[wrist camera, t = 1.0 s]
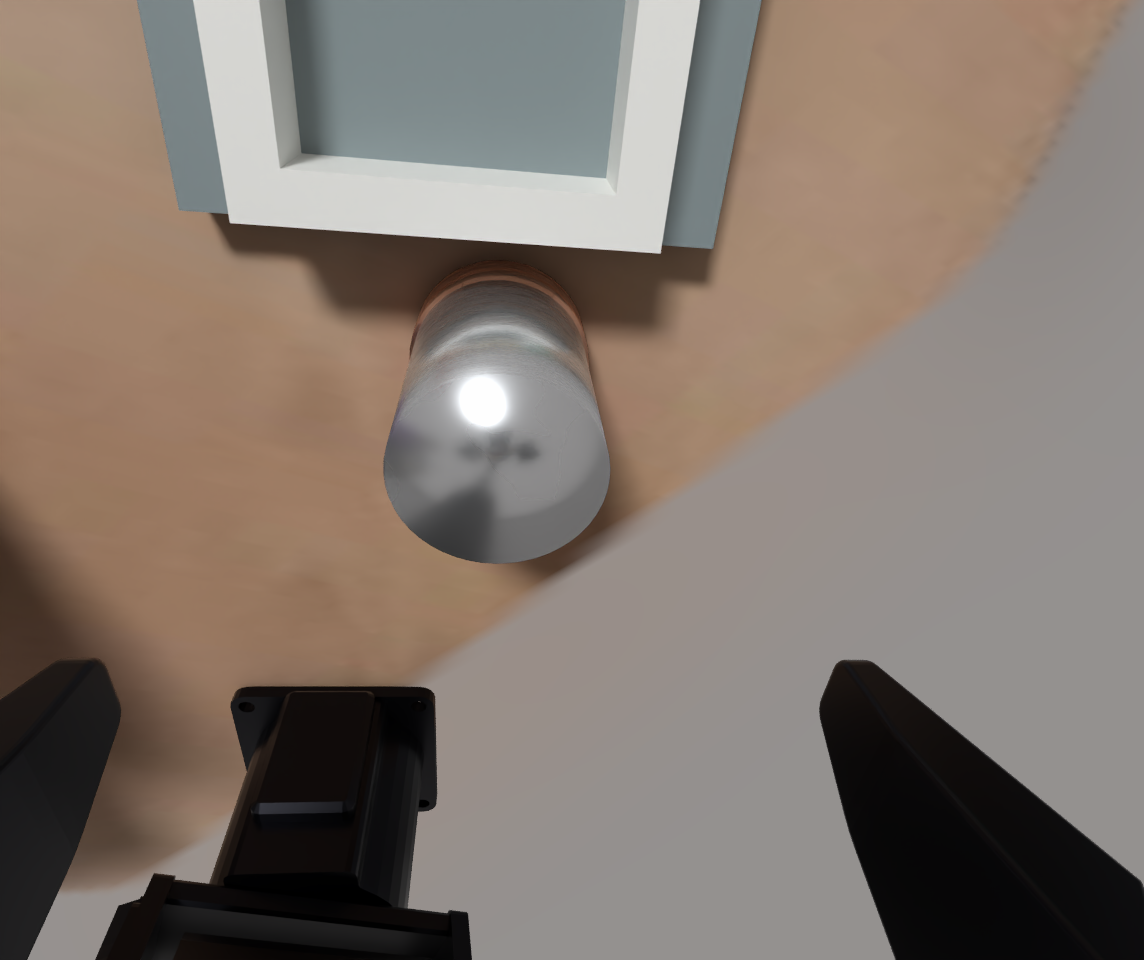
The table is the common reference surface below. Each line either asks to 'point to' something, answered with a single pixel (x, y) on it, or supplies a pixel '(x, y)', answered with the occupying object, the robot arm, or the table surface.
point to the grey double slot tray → (456, 115)
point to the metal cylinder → (497, 419)
